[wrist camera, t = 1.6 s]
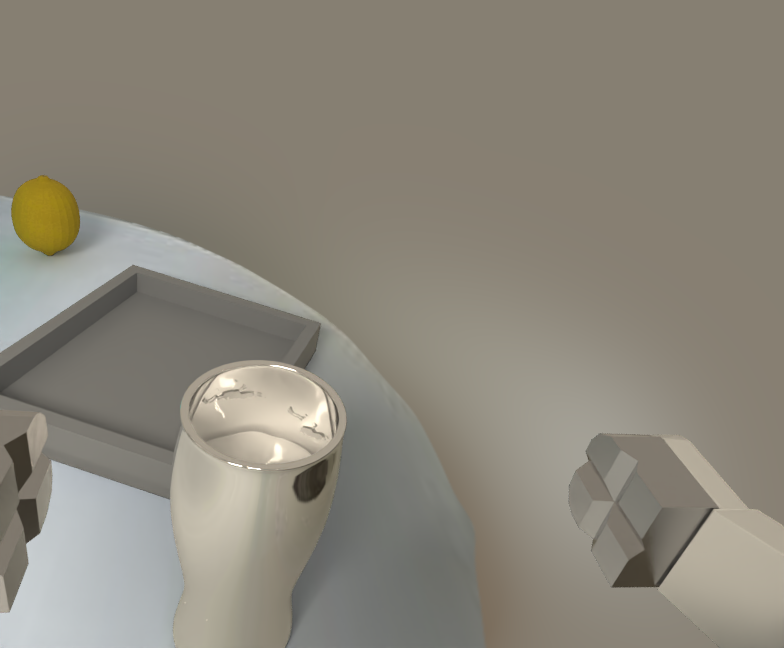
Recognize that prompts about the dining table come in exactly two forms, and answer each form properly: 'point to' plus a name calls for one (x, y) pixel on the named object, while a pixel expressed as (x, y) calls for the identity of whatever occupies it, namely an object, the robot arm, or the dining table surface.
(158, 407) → the tray
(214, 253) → the dining table surface
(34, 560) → the dining table surface
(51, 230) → the lemon
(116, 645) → the dining table surface
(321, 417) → the beer glass
